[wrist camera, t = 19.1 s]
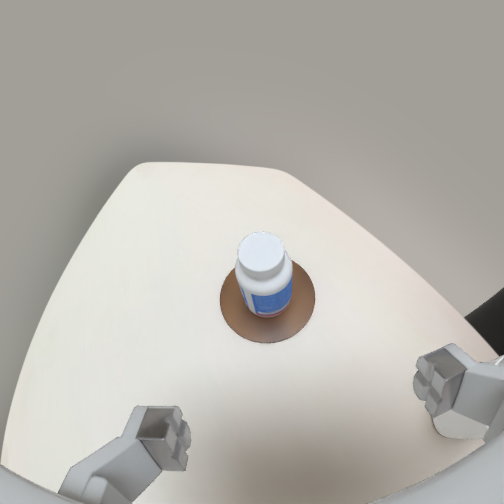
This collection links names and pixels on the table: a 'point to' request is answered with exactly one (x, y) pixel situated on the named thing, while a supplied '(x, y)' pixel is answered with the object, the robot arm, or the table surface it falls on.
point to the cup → (462, 420)
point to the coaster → (268, 326)
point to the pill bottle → (264, 274)
